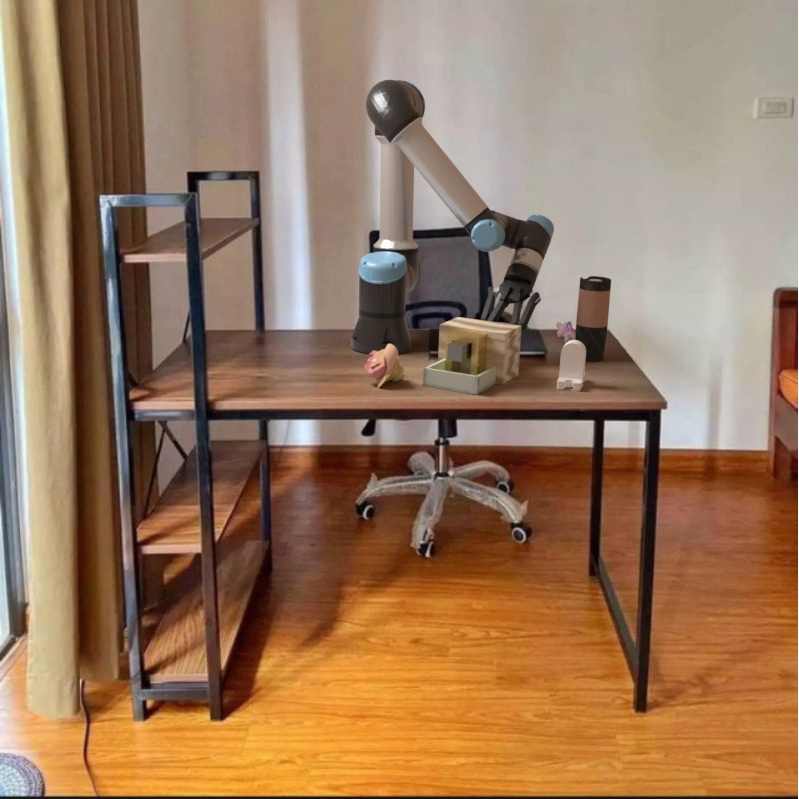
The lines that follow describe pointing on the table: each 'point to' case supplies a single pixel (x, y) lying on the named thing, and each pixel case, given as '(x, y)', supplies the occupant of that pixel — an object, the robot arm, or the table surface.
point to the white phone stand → (572, 365)
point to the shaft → (460, 350)
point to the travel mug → (593, 316)
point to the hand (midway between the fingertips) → (493, 349)
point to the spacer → (477, 350)
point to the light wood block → (488, 345)
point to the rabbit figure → (566, 331)
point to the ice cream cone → (384, 365)
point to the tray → (458, 379)
